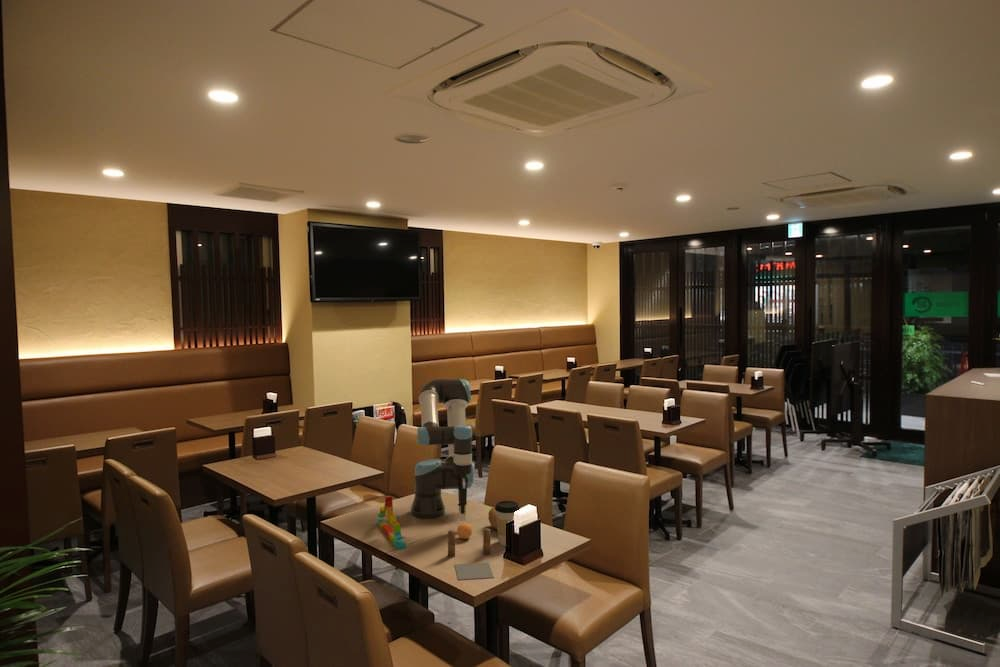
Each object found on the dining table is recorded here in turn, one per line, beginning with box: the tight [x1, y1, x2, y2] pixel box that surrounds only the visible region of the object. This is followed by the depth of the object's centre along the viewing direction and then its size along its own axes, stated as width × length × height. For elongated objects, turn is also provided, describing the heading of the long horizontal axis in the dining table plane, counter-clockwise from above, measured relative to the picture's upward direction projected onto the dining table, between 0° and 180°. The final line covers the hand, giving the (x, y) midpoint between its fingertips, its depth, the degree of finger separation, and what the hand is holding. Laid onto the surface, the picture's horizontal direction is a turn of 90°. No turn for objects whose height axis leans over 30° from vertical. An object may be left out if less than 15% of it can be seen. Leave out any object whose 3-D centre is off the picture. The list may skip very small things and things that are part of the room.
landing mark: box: [454, 562, 495, 581], centre depth 202 cm, size 12×12×1 cm
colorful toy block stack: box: [376, 496, 407, 550], centre depth 235 cm, size 30×3×15 cm, turn 27°
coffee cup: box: [494, 500, 521, 546], centre depth 229 cm, size 10×10×15 cm
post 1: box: [447, 529, 456, 558], centre depth 215 cm, size 3×3×9 cm
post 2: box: [482, 528, 491, 556], centre depth 217 cm, size 3×3×9 cm
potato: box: [487, 506, 497, 530], centre depth 242 cm, size 10×14×8 cm
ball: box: [456, 522, 473, 540], centre depth 232 cm, size 6×6×6 cm
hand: (462, 520), depth 241 cm, fingers closed
